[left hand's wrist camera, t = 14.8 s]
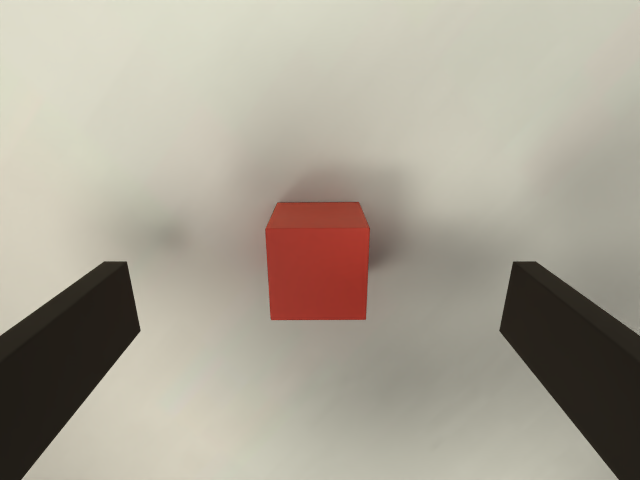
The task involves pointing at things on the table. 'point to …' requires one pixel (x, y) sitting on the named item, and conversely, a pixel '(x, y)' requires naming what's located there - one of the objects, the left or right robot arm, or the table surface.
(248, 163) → the table surface
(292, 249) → the red cube
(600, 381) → the left robot arm
